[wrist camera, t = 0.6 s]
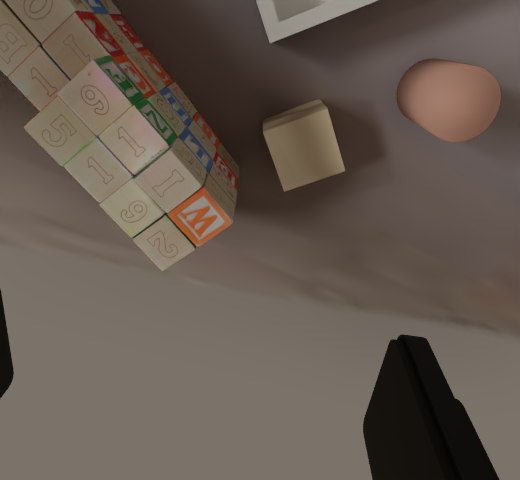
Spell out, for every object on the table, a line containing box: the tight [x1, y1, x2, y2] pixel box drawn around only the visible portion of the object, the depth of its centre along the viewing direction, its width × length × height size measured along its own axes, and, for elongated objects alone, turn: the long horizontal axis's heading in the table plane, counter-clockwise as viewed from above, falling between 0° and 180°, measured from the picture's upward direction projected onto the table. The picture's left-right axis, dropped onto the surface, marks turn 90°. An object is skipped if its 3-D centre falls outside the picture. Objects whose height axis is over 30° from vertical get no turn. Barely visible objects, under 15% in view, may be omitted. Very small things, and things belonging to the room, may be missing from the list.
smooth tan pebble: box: [397, 59, 501, 142], centre depth 32 cm, size 5×5×7 cm
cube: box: [263, 99, 345, 192], centre depth 35 cm, size 5×5×5 cm
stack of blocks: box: [0, 0, 240, 271], centre depth 30 cm, size 21×6×12 cm, turn 36°
